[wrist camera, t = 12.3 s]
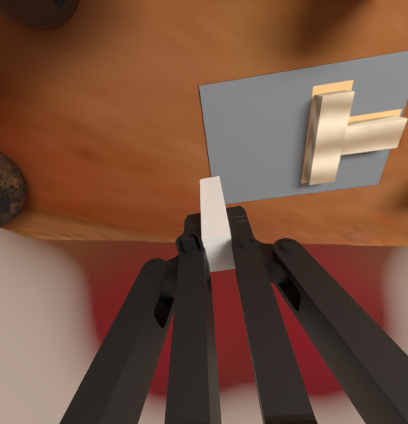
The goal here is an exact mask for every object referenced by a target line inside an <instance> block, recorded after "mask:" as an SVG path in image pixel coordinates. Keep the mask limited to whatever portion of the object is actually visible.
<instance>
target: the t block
mask: <svg viewBox="0 0 408 424" xmlns="http://www.w3.org/2000/svg"><path fill="white" fill-rule="evenodd" d="M354 93H355V91H348V90H342V91H335V92H329V93H323V94H316V95H314V102H313V109H312V117H311V125H310V132H309V140H308V148H307V155H306V163H305V171H304V178H303V179H304V180H305V181H306V182H307V183H308V184H309V185H313V184H321V183H329V182H335V179H336V174H337V170H338V165H339V161H340V156H341V155H346V154H354V153H361V152H368V151H375V150H383V149H390V148H397V146H398V143H399V140H400V138H401V135H402V132H403V130H404V127H405V124H406V121H407V118H403V117H399V116H387V117H381V118H374V119H367V120H360V121H353V122H348V120H349V116H350V111H351V107H352V102H353V98H354Z"/></svg>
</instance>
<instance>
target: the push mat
mask: <svg viewBox="0 0 408 424" xmlns="http://www.w3.org/2000/svg"><path fill="white" fill-rule="evenodd" d="M199 89H200V97H201V104H202V112H203V119H204V126H205V134H206V141H207V149H208V156H209V163H210V171H211V177H216V176H219V177H220V182H221V187H222V192H223V197H224V202H225V204H231V203H238V202H246V201H254V200H262V199H270V198H277V197H285V196H293V195H301V194H308V193H316V192H324V191H332V190H340V189H347V188H355V187H363V186H371V185H378V183H379V180H380V177H381V174H382V171H383V168H384V166H385V163H386V160H387V157H388V154H389V151H390V149H383V150H375V151H368V152H361V153H354V154H346V155H341V156H340V161H339V165H338V170H337V174H336V179H335V182H329V183H321V184H313V185H309V184H308V183H307V182H306V181H305V180H304V179H303V178H304V171H305V163H306V155H307V148H308V140H309V132H310V125H311V117H312V109H313V102H314V95H316V94H323V93H329V92H335V91H342V90H348V91H355V93H354V98H353V102H352V107H351V111H350V116H349V120H348V122H353V121H360V120H367V119H374V118H381V117H387V116H399V117H402V114H403V111H404V108H405V105H406V102H407V100H408V51H404V52H398V53H392V54H387V55H381V56H375V57H369V58H363V59H357V60H351V61H345V62H339V63H333V64H327V65H321V66H316V67H310V68H304V69H298V70H292V71H286V72H280V73H274V74H268V75H262V76H256V77H251V78H245V79H239V80H233V81H227V82H221V83H215V84H209V85H203V86H199Z"/></svg>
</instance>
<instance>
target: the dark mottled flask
mask: <svg viewBox="0 0 408 424" xmlns="http://www.w3.org/2000/svg"><path fill="white" fill-rule="evenodd" d="M26 194H27V190H26V184H25V181H24V178H23V176H22V174H21V173H20V171H19V169H18V168H17V167H16V166H15V164H14V163H13V162H12V161H11V160H10V159H9V158H7V156H5V155H4V154H2V153H1V152H0V226H2V225H4V224H6V223H8V222H10V221H11V220H12V219H14V218H15V217H16V216H17V215H18V214H19V213H20V211H21V210H22V208H23V206H24V204H25V201H26Z"/></svg>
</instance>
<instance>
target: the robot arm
mask: <svg viewBox="0 0 408 424" xmlns="http://www.w3.org/2000/svg"><path fill="white" fill-rule="evenodd" d="M78 1H79V0H0V14H1V15H3V16H5V17H7V18H8V19H10V20H12V21H14V22H17V23H19V24H22V25H26V26H30V27H33V28H39V29H50V28H55V27H58V26H60V25H62V24H63V23H65V22H66V21H67V20H68V19H69V18H70V17H71V15H72V14H73V13H74V11H75V9H76V7H77V4H78ZM200 198H201V213H197V214H191V215H188V216H187V218H186V219H185V224H184V226H185V227H184V234H182V235H180V236H179V237H178V238H177V239H176V242H175V243H176V246H177V249H178V252H179V255H177V256H176V257H174V258H172V259H170V260H168V261H164V260H163V259H160V258H155V259H152V260H149V261H148V262H147V263H145V265H144V266H143V267H142V269H141V271H140V273H139V275H138V277H137V278H136V281H135V282H134V284H133V286H132V288H131V290H130V292H129V294H128V296H127V297H126V299H125V301H124V303H123V305H122V307H121V309H120V311H119V312H118V314H117V316H116V318H115V320H114V322H113V324H112V326H111V328H110V329H109V331H108V333H107V335H106V337H105V339H104V341H103V343H102V345H101V347H100V348H99V350H98V352H97V354H96V356H95V358H94V360H93V361H92V364H91V365H90V367H89V369H88V371H87V373H86V375H85V377H84V379H83V381H82V382H81V384H80V386H79V388H78V390H77V392H76V394H75V395H74V397H73V399H72V401H71V403H70V405H69V407H68V409H67V411H66V412H65V414H64V416H63V418H62V420H61V422H60V424H138V421H139V418H140V415H141V412H142V409H143V406H144V403H145V399H146V397H147V393H148V390H149V387H150V384H151V381H152V378H153V375H154V372H155V368H156V366H157V362H158V359H159V356H160V353H161V350H162V347H163V344H164V341H165V338H166V335H167V332H168V329H169V325H170V322H171V319H172V316H173V313H174V320H173V332H172V343H171V355H170V366H169V377H168V389H167V401H166V412H165V424H221V412H220V397H219V383H218V368H217V355H216V340H215V325H214V312H213V298H212V283H211V277H210V272H213V271H220V270H228V269H236V275H237V282H238V287H239V292H240V298H241V303H242V309H243V314H244V320H245V326H246V331H247V336H248V342H249V348H250V353H251V359H252V364H253V370H254V375H255V381H256V386H257V392H258V397H259V403H260V408H261V414H262V419H263V424H318V423H317V421H316V419H315V416H314V413H313V410H312V407H311V404H310V401H309V398H308V395H307V392H306V389H305V386H304V383H303V380H302V377H301V374H300V371H299V367H298V364H297V362H296V358H295V355H294V352H293V350H292V346H291V343H290V340H289V338H288V334H287V331H286V328H285V325H284V322H283V319H282V316H281V313H280V310H279V307H278V304H277V301H276V298H275V295H274V292H273V289H272V285H271V283H274V284H275V286H276V288H277V289H278V290H279V292H280V294H281V295H282V297H283V298H284V300H285V301H286V303H287V304H288V306H289V307H290V309H291V310H292V312H293V313H294V315H295V316H296V318H297V319H298V321H299V323H300V324H301V326H302V327H303V329H304V330H305V332H306V333H307V335H308V336H309V338H310V339H311V341H312V342H313V344H314V345H315V347H316V349H317V350H318V352H319V353H320V355H321V356H322V358H323V359H324V361H325V362H326V364H327V365H328V367H329V368H330V370H331V371H332V373H333V374H334V376H335V378H336V379H337V381H338V382H339V384H340V385H341V387H342V388H343V390H344V391H345V393H346V394H347V396H348V397H349V399H350V400H351V402H352V404H353V405H354V406H355V408H356V410H357V411H358V413H359V414H360V416H361V417H362V419H363V420H364V422H365V423H366V424H408V356H407V355H406V354H405V352H404V351H403V350H402V349H401V348H400V347H399V346H398V345H397V344H396V343H395V342H394V341H393V340H392V339H391V338H390V337H389V336H388V335H387V334H386V333H385V332H384V331H383V330H382V329H381V328H380V326H379V325H378V324H377V323H376V322H375V321H374V320H373V319H372V318H371V317H370V316H369V315H368V314H367V313H366V312H365V311H364V310H363V309H362V308H361V307H360V306H359V305H358V304H357V303H356V302H355V300H354V299H353V298H352V297H351V296H349V294H348V293H347V292H346V291H344V289H343V288H342V287H341V286H340V285H339V284H338V283H337V282H336V281H335V280H334V279H333V278H332V277H331V276H330V275H329V273H328V272H327V271H326V270H325V269H324V268H323V267H322V266H321V265H320V264H319V263H318V262H317V261H316V260H315V259H314V258H313V257H312V256H311V255H310V254H309V253H308V252H307V251H306V250H305V249H304V247H303V246H301V244H300V243H298V242H297V241H296V240H293V239H289V238H283V239H279V240H277V241H276V242H275V243H274V245H273V244H265V243H261V242H259V241H257V240H256V239H255V238H254V236H253V233H252V230H251V227H250V224H249V221H248V218H247V215H246V212H245V209H243V208H242V207H241V206H236V207H230V208H226V207H225V202H224V197H223V192H222V187H221V182H220V177H219V176H216V177H211V178H205V179H200Z"/></svg>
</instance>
